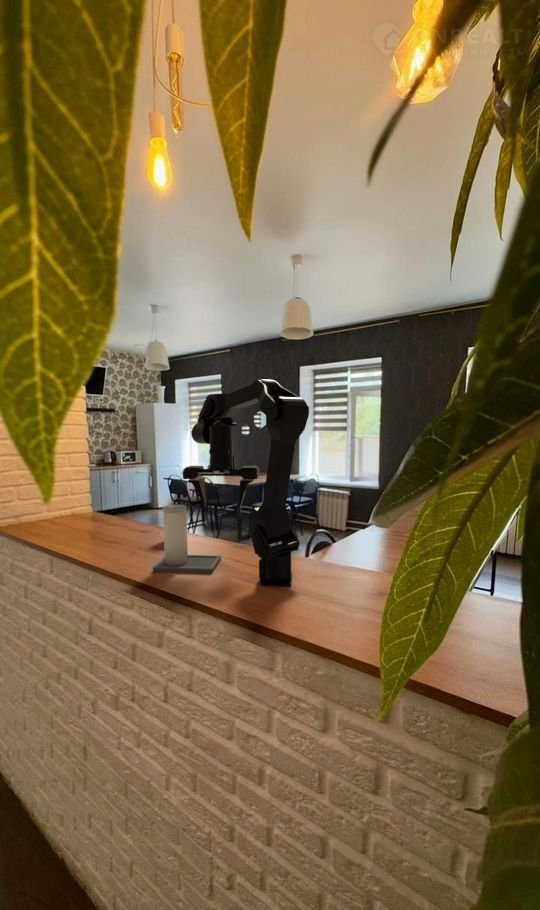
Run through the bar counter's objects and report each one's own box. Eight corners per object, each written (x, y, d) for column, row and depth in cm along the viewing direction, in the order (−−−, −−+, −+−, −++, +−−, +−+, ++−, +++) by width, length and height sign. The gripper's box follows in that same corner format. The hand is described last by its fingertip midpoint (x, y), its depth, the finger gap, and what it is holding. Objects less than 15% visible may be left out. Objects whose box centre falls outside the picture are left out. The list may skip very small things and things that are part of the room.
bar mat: (221, 559, 100) (220, 555, 100) (212, 573, 91) (212, 568, 91) (166, 558, 102) (166, 554, 101) (152, 571, 93) (152, 567, 93)
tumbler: (188, 557, 100) (187, 504, 99) (187, 565, 94) (185, 508, 93) (165, 559, 99) (164, 505, 98) (163, 566, 94) (161, 509, 92)
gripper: (261, 443, 108) (262, 500, 109) (194, 443, 110) (195, 499, 111) (256, 445, 97) (257, 509, 98) (181, 445, 99) (183, 508, 100)
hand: (222, 506), depth 102 cm, fingers open, 9 cm apart
